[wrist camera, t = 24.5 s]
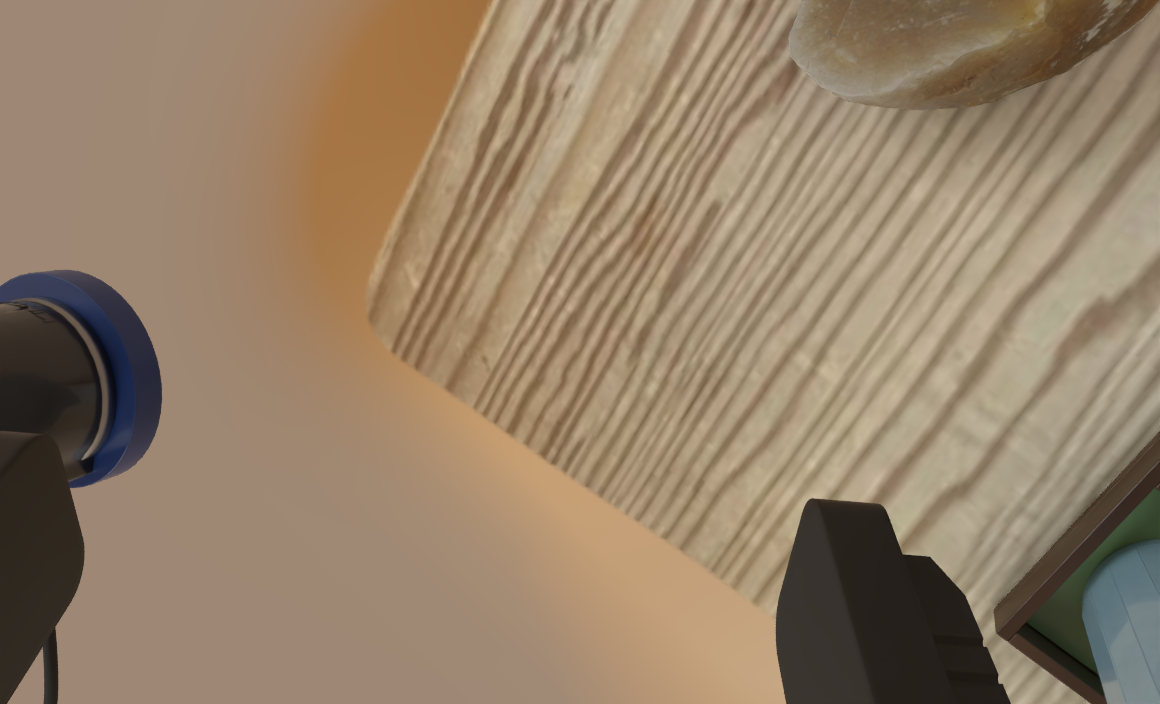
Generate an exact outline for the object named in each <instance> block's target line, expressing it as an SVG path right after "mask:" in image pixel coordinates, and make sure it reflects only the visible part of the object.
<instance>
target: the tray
mask: <svg viewBox="0 0 1160 704" xmlns="http://www.w3.org/2000/svg"><path fill="white" fill-rule="evenodd" d="M1151 539H1160V432H1159V433H1158V434H1157V435H1156V436H1155V437H1154V438H1153V440H1152V441H1151V442H1150V443H1149V444H1148V445H1147V446H1146V447H1145V448H1144V449H1143V450H1142V451H1141V452H1140V453H1139V455H1138V456H1137V457H1136V458H1135V459H1134V460H1133V461H1132V462H1131V463H1130V464H1129V465H1128V466H1127V467H1126V468H1125V470H1124V471H1123V472H1122V473H1121V474H1120V475H1119V476H1118V477H1117V478H1116V479H1115V480H1114V481H1113V482H1112V483H1111V484H1110V486H1109V487H1108V488H1107V489H1106V490H1105V491H1104V492H1103V493H1102V494H1101V495H1100V496H1099V497H1098V498H1097V499H1096V501H1095V502H1094V503H1093V504H1092V505H1091V506H1090V507H1089V508H1088V509H1087V510H1086V511H1085V512H1084V513H1083V514H1082V516H1081V517H1080V518H1079V519H1078V520H1077V521H1076V522H1075V523H1074V524H1073V525H1072V526H1071V527H1070V528H1069V529H1068V531H1067V532H1066V533H1065V534H1064V535H1063V536H1062V537H1061V538H1060V539H1059V540H1058V541H1057V542H1056V543H1055V544H1054V546H1053V547H1052V548H1051V549H1050V550H1049V551H1048V552H1047V553H1046V554H1045V555H1044V556H1043V557H1042V558H1041V559H1040V561H1039V562H1038V563H1037V564H1036V565H1035V566H1034V567H1033V568H1032V569H1031V570H1030V571H1029V572H1028V573H1027V574H1026V576H1025V577H1024V578H1023V579H1022V580H1021V581H1020V582H1019V583H1018V584H1017V585H1016V586H1015V587H1014V588H1013V589H1012V591H1011V592H1010V593H1009V594H1008V595H1007V596H1006V597H1005V598H1004V599H1003V600H1002V601H1001V602H1000V603H999V604H998V606H997V607H996V608H995V609H994V618H995V628H996V634H998V635H999V636H1000V637H1002V638H1003V639H1004V640H1006V641H1008V642H1009V643H1010V644H1011V645H1012V646H1014V647H1015V648H1016V649H1018V650H1019V651H1020V652H1022V653H1023V654H1025V655H1026V656H1027V657H1029V658H1030V659H1031V660H1033V661H1034V662H1035V663H1037V664H1038V665H1039V666H1041V667H1042V668H1044V669H1045V670H1046V671H1048V672H1049V673H1050V674H1052V675H1053V676H1054V677H1056V678H1057V679H1058V680H1060V681H1061V682H1062V683H1064V684H1065V685H1067V686H1068V687H1069V688H1071V689H1072V690H1073V691H1075V692H1076V693H1077V694H1079V695H1080V696H1081V697H1083V698H1084V699H1086V700H1087V701H1088V702H1090V703H1091V704H1106V701H1105V698H1104V694H1103V691H1102V687H1101V684H1100V680H1099V677H1098V674H1097V670H1096V667H1095V663H1094V660H1093V656H1092V653H1091V649H1090V646H1089V643H1088V639H1087V635H1086V631H1085V627H1084V624H1083V619H1082V610H1081V603H1082V596H1083V592H1084V589H1085V585H1086V583H1087V581H1088V579H1089V577H1090V576H1091V574H1092V573H1093V571H1094V570H1095V569H1096V567H1097V566H1098V565H1099V564H1100V563H1101V562H1102V561H1103V560H1104V559H1106V558H1107V557H1108V556H1109V555H1111V554H1112V553H1114V552H1116V551H1117V550H1119V549H1121V548H1123V547H1126V546H1128V545H1131V544H1134V543H1137V542H1140V541H1145V540H1151Z"/></svg>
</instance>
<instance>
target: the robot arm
mask: <svg viewBox="0 0 1160 704" xmlns="http://www.w3.org/2000/svg"><path fill="white" fill-rule="evenodd" d="M115 411H116V388H115V381H114V375H113V371H112V367H111V364H110V361H109V358H108V356H107V353H106V351H105V349H104V347H103V345H102V343H101V341H100V340H99V338H98V336H97V335H96V333H95V332H94V330H93V329H92V328H91V326H90V325H89V324H88V323H87V322H86V321H85V320H84V319H83V318H82V317H81V316H80V315H79V314H78V313H77V312H76V311H74V310H73V309H72V308H70V307H69V306H67V305H65V304H63V303H61V302H59V301H57V300H54V299H50V298H45V297H30V298H22V299H16V300H12V301H9V302H1V303H0V704H7V703H8V701H9V700H10V698H11V696H12V695H13V693H14V691H15V690H16V688H17V687H18V685H19V683H20V682H21V680H22V679H23V677H24V676H25V674H26V673H27V671H28V669H29V668H30V666H31V665H32V663H33V661H34V660H35V658H36V657H37V655H38V654H39V652H40V650H41V648H42V647H43V657H44V704H57V700H58V660H57V659H58V658H57V641H56V630H55V626H56V625H57V623H58V622H59V620H60V618H61V617H62V615H63V614H64V612H65V611H66V609H67V607H68V606H69V604H70V603H71V601H72V599H73V597H74V595H75V593H76V591H77V588H78V586H79V583H80V579H81V575H82V571H83V565H84V542H83V537H82V533H81V529H80V526H79V521H78V518H77V514H76V510H75V506H74V502H73V499H72V495H71V491H70V487H69V483H68V482H69V481H72V480H75V479H78V478H81V477H84V476H86V475H89V474H91V473H93V460H94V455H96V454H97V453H98V452H99V450H100V449H101V448H102V447H103V445H104V444H105V442H106V440H107V439H108V437H109V434H110V432H111V429H112V426H113V422H114V418H115ZM776 647H777V655H778V661H779V667H780V672H781V678H782V682H783V688H784V694H785V699H786V704H1011V703H1010V701H1009V698H1008V696H1007V694H1006V691H1005V689H1004V687H1003V684H999V683H998V672H997V670H996V668H995V665H994V663H993V660H992V658H991V656H990V653H989V651H988V649H987V647H983V637H982V634H981V632H980V630H979V627H978V625H977V623H976V620H975V618H974V615H973V613H972V611H971V608H970V606H969V604H968V601H967V599H966V596H965V595H964V594H963V593H962V591H961V590H960V589H959V588H958V587H957V586H956V585H955V584H954V583H953V582H952V580H951V579H950V578H949V577H948V576H947V575H946V574H945V573H944V572H943V571H942V569H941V568H940V567H939V566H938V565H937V564H936V563H935V562H934V561H933V560H932V559H931V557H927V556H915V555H902V552H901V549H900V546H899V544H898V541H897V538H896V535H895V533H894V530H893V527H892V524H891V522H890V519H889V516H888V514H887V512H886V510H885V508H884V507H883V506H882V505H880V504H875V503H863V502H851V501H838V500H826V499H813V498H812V499H810V500H809V501H808V502H807V503H806V505H805V507H804V510H803V513H802V516H801V520H800V523H799V527H798V530H797V534H796V538H795V541H794V545H793V549H792V552H791V556H790V560H789V563H788V567H787V570H786V574H785V578H784V581H783V585H782V589H781V592H780V596H779V601H778V607H777V616H776Z"/></svg>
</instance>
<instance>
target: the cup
mask: <svg viewBox="0 0 1160 704" xmlns="http://www.w3.org/2000/svg"><path fill="white" fill-rule="evenodd" d="M1081 610H1082V619H1083V624H1084V627H1085V631H1086V635H1087V639H1088V643H1089V646H1090V649H1091V653H1092V656H1093V660H1094V663H1095V667H1096V670H1097V674H1098V677H1099V680H1100V684H1101V687H1102V691H1103V694H1104V698H1105V701H1106V704H1160V539H1151V540H1145V541H1140V542H1137V543H1134V544H1131V545H1128V546H1126V547H1123V548H1121V549H1119V550H1117V551H1116V552H1114V553H1112V554H1111V555H1109V556H1108V557H1107V558H1106V559H1104V560H1103V561H1102V562H1101V563H1100V564H1099V565H1098V566H1097V567H1096V569H1095V570H1094V571H1093V573H1092V574H1091V576H1090V577H1089V579H1088V581H1087V583H1086V585H1085V589H1084V592H1083V596H1082V603H1081Z"/></svg>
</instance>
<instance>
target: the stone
mask: <svg viewBox="0 0 1160 704" xmlns="http://www.w3.org/2000/svg"><path fill="white" fill-rule="evenodd" d="M1159 3H1160V0H802V3H801V6H800V9H799V11H798V15H797V18H796V20H795V22H794V25H793V27H792V29H791V31H790V35H789V40H788V41H789V48H790V49H789V53H790V57H791V58H792V59H793V60H794V61H795V62H796V64H797V65H798V66H799V67H800V68H801V69H802V70H803V71H804V72H805V73H806V74H808V75H809V76H810V77H812V78H813V79H814V80H815V81H816V82H817V83H818V84H819V85H820V86H821V87H822V88H824V89H827V90H829V91H830V92H832V93H833V94H835V95H836V96H838V97H840V98H842V99H844V100H846V101H848V102H854V103H860V104H864V105H870V106H879V107H888V108H900V109H904V110H932V109H939V108H966V107H971V106H976V105H980V104H983V103H992V102H994V101H997V100H998V99H999V98H1001V97H1003V96H1006V95H1008V94H1011V93H1013V92H1015V91H1018V90H1020V89H1023V88H1026V87H1028V86H1031V85H1033V84H1036V83H1038V82H1041V81H1044V80H1047V79H1050V78H1052V77H1054V76H1055V75H1059V74H1062V73H1064V72H1066V71H1068V70H1070V69H1072V68H1074V67H1076V66H1078V65H1080V64H1081V63H1082V62H1083V61H1085V60H1086V59H1087V58H1089V57H1090V56H1092V55H1093V54H1095V53H1096V52H1098V51H1099V50H1101V49H1102V48H1103V47H1105V46H1106V45H1108V44H1111V43H1113V42H1114V41H1115V40H1117V39H1118V38H1119V37H1121V36H1122V35H1124V34H1125V33H1127V32H1128V31H1130V30H1131V29H1132V28H1133V27H1134V26H1135V25H1136V24H1138V23H1139V22H1141V21H1142V20H1144V18H1145V17H1146V16H1147V15H1148V14H1149V13H1150V12H1151V11H1152V10H1153V9H1154V8H1155V7H1156V6H1157V5H1158V4H1159Z"/></svg>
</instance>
